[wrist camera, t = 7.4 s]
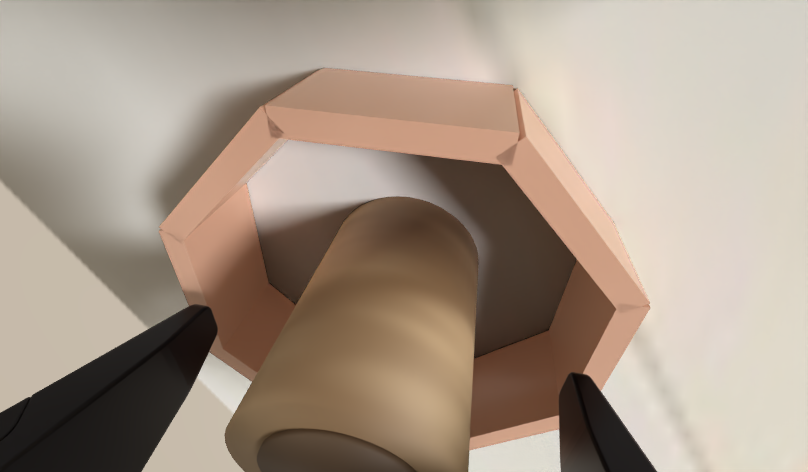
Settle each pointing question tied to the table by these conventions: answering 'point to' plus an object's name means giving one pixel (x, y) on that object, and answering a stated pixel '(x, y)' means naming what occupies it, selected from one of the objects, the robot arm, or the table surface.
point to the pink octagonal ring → (430, 136)
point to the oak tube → (371, 353)
